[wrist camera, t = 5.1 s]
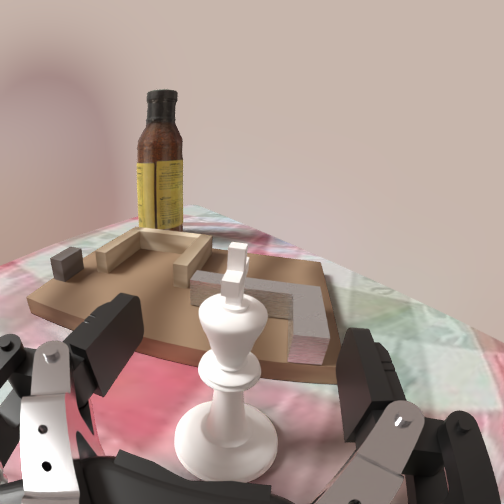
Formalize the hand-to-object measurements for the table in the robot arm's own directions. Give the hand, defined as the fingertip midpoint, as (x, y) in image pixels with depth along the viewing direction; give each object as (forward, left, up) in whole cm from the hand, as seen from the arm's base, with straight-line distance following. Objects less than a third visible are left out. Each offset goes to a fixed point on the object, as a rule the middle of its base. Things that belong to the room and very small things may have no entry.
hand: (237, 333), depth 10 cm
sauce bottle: (+15, -26, -6) cm, 30 cm away
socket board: (+6, -12, -6) cm, 14 cm away
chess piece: (0, +1, -6) cm, 6 cm away
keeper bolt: (0, -7, -4) cm, 8 cm away
